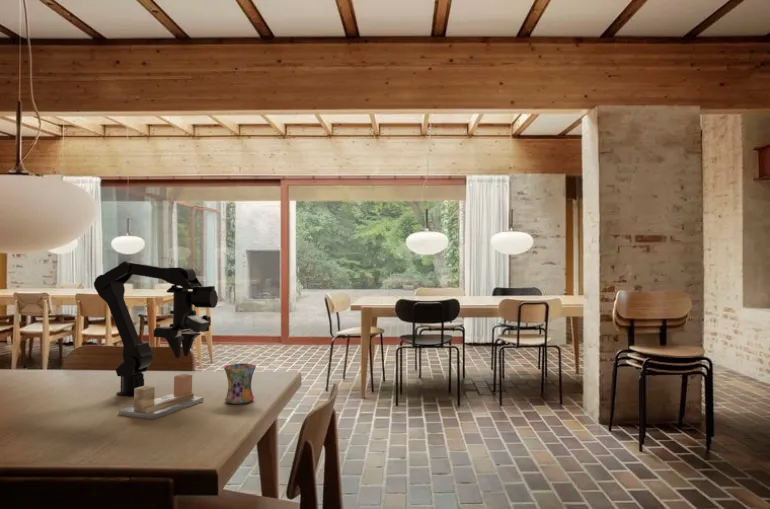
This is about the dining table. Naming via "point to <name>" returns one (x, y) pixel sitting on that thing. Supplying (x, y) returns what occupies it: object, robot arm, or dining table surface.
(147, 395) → the bar
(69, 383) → the dining table surface
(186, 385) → the slide leg
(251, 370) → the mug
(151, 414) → the flange plate
